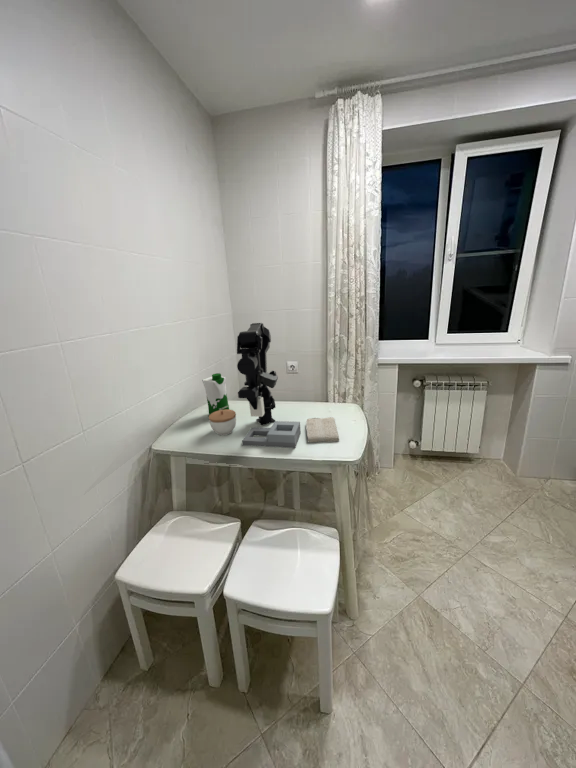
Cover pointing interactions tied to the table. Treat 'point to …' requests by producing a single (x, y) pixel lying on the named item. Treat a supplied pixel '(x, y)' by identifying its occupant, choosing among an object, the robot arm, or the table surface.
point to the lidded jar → (223, 421)
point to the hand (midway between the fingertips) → (257, 407)
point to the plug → (258, 408)
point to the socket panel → (264, 440)
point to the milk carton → (216, 393)
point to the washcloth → (321, 430)
